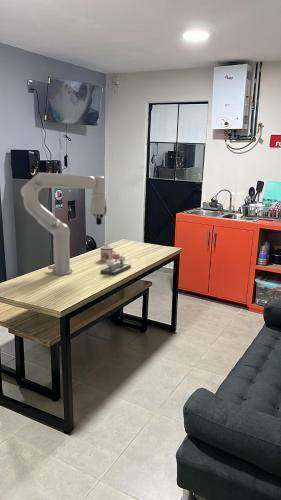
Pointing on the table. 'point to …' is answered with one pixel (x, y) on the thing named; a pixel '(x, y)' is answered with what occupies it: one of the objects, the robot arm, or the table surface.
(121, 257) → the knob far
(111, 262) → the knob near
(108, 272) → the mount plate
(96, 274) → the table surface
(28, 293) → the table surface
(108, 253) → the teacup with lid
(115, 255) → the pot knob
